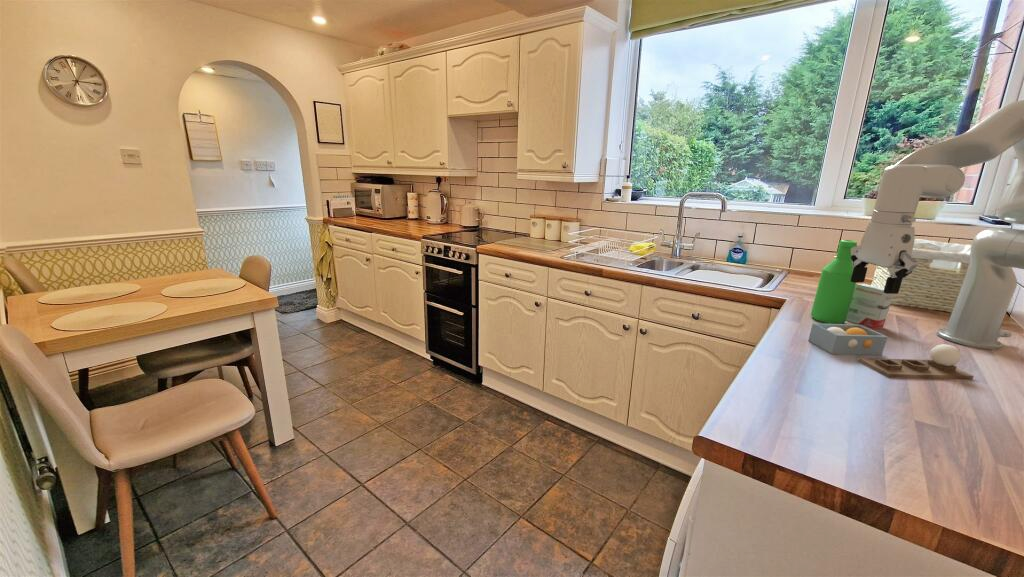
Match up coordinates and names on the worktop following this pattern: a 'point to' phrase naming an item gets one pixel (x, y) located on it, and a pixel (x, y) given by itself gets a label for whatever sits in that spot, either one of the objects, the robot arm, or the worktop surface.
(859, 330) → the orange ball
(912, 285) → the basket
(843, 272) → the bottle
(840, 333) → the cream ball in tray
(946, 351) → the cream ball on rack
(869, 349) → the pale blue tray
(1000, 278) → the robot arm
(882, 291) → the ink box
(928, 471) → the worktop surface
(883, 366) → the walnut rack
